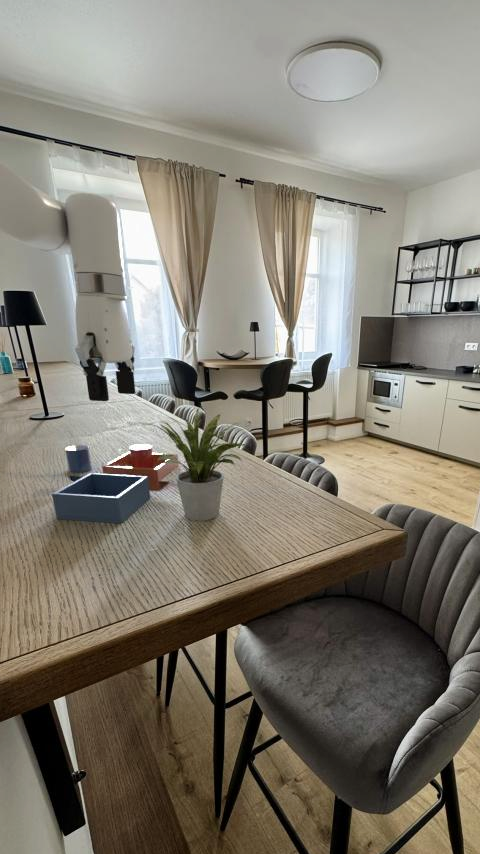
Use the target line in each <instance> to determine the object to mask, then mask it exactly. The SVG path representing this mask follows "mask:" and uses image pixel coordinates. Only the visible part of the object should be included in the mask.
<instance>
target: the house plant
mask: <svg viewBox="0 0 480 854" xmlns="http://www.w3.org/2000/svg"><path fill="white" fill-rule="evenodd" d="M199 410H200V406H199V407H198V408H197V409H196V411H195V413H194V419H193V425H192V423H191V422H190V421H189V420H188V419H187V418H185V424H186V425H187V429H183V426H182V425H181V424H180V423H179V422H178V421H177V420H175V419H174V418H171V417H166V418H167V419H170V420H172V421H174V422H176V423H177V424H178V426H179V428H180V429H181V430H180V432H182V433H183V435H184V437H185V439H186V441H187V444H186V443H184V442H183V440H182V438H181V436H180V435H179V434H178V433H177V431H176V430H175V429H173V428H172V426H171V425H170V424H169V423H168V422H165V421H164V420H161V422H162V423H164V424H165V425H162V424H161V423H159V425H160V426H161V427H159V426H157V425H155V424H151V423H146V425H148V426H152V427H156V428H158V429H160V430H161V431H163V432H164V433H165V434H166V435H168V437H169V438H170V440H172V441H173V442H174V444H175V445H174V446H175V447H176V448H177V449H178V450H179V452H181V453H182V454H183V457H184V460H185V461H183V462H181V461H180V460H179V459H178V460H177V459H176V458H175V457H173V456H170V455H165V454H166V453H163V454H164V455H161V456H160V457H159V458H158V460H165V459H173V460H177V461H178V462H177V461H165V462H163V463H162V464H164V463H172V462H174V463H178V465H182V467H183V468H184V470H185V471H182V472H179V473H178V474H177V475H176V476H175V480H176V485H177V488H178V489H177V490H178V493H179V497H180V500H181V504H182V508H183V512H184V516H185V517H186V519H188V520H191V521H196V522H203V521H209V520H213V519H216V518H217V517H218V516H219V514H220V508H221V507H220V506H221V500H222V493H223V492H222V491H223V484H224V478H225V477H224V473H222V472H221V471H219V470H215V469H216V468H217V467H218V466H220V464H221V463H222V464H223V463H224V464H230V465H234V466H236V463H234V461H233V460H232V459H229V458H234V459H237V460H239V461H240V462H242V459H241V457H240V456H239V455H237V454H233V453H226V454H224V453H225V452H226V451H228V450H231V449H234V448H236V447H239V446H241V447H243V446H244V447H245V446H247V444H245V443H238V442H230V443H229V442H227V443H226V442H223V443H218V444H217V442H218V441H219V440H220V439H221V438H225V436H224V435H225V434H226V433H227V432H230V429H231V428H233V427H234V426H236V425H238V424H241V423H242V421H240V422H237V423H233V424H232V425H230V426H229V427H227V428H226V429H225V430H223V431H220V432H216V430H217V429H218V421H219V420H220V417H221V413H218V414H217V415H216V416H214V417H213V418H212V420H210V421H209V422H208V424H207V425H206V427H205V428H204V430H203V432H202V435H201V437H200V441H199V431H200V430H199V429H200V427H199V426H200V425H199ZM168 427H169V428H168ZM219 434H220V435H219ZM216 435H218V436H216ZM215 436H216V437H215ZM214 437H215V438H214ZM188 446H189V447H188ZM228 457H229V458H228ZM158 460H157V461H158ZM184 463H186V465H187V466H186V465H185V464H184Z"/></svg>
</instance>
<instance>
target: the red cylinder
mask: <svg viewBox="0 0 480 854" xmlns="http://www.w3.org/2000/svg"><path fill="white" fill-rule="evenodd" d="M129 452H130V457H131V464H130V465H131V467H138V468H155V465H154V460H153V453H154V451H153V445H150V444H134V445H131V446H129Z"/></svg>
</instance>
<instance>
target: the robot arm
mask: <svg viewBox="0 0 480 854" xmlns="http://www.w3.org/2000/svg"><path fill="white" fill-rule="evenodd" d="M0 231H1V233H3V234H5V235H6V236H8V237H9V238H11V239H13V240H15V241H17V242H19V243H22V244H25V245H28V246H31V247H33V248H35V249H38V250H40V251H43V252H46V253H48V254H51V255H57V256H65V255H66V256H67V255H71V262H72V269H73V275H74V276H73V277H74V283H75V290H76V291H75V292H76V296H75V329H76V341H77V345H76V346H75V349H74V350H75V353H76V355H77V357H78V360H79V365H80V367H81V369H83V370H82V373H83V375H84V377H85V379H86V386H87V394H88V399H89V401H91V402H93V401H94V402H108V401H109V400H110V397H109V395H110V394H109V388H108V379H107V376H106V375H104V374H105V370H106V366H107V364H114V365H115V367H116V369H117V370H116V371H115V377H116V387H117V393H118V394H120V395H121V394H122V395H123V394H124V395H134V394H136V384H135V383H136V382H135V374H134V372H135V366H134V363H135V350H136V349H135V345H134V344H133V343H132V334H131V328H130V321H129V316H128V315H129V314H128V309H127V305H126V301H128V297H127V287H126V278H125V266H124V255H123V254H124V253H123V246H122V234H121V233H122V232H121V224H120V215H119V211H118V208H117V206H116V204H115V203H114V201H112V200H110V199H109V198H107V197H105V196H102V195H98V194H93V193H87V192H86V193H83V192H77V193H72V194H69V195H68V196H67V197H66V199H65V202H63V201H61V200H58V199H56V198H54V197H52V196H50V195H49V194H47V193H45V192H43V191H42V190H40V189H39V188H37V187H36V186H33V185H32V184H30V183H29V182H28V181H26V180H25V179H24V178H22V177H21V176H20V175H19V174H17V173H16V172H15V171H14V170H13V169H11V168H10V167H9V166H8V165H7V164H5V163H4V162H3V161H2V160H0Z"/></svg>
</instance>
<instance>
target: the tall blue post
mask: <svg viewBox="0 0 480 854" xmlns="http://www.w3.org/2000/svg"><path fill="white" fill-rule="evenodd" d="M64 453H65V457H66V464H67V468H68V469H67V470H68V472H69V473H70V474H71V473H72V474H81V473H87V472H90V471H92V470H93V465H92V460H91V454H90V453H91V452H90V448H89V446H88V445H83V444H78V445H71V446H67V447H65V448H64ZM82 477H84V476H81V475H69V480H70V481H72V482H75V481H76V480H78V479H80V478H82Z"/></svg>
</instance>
